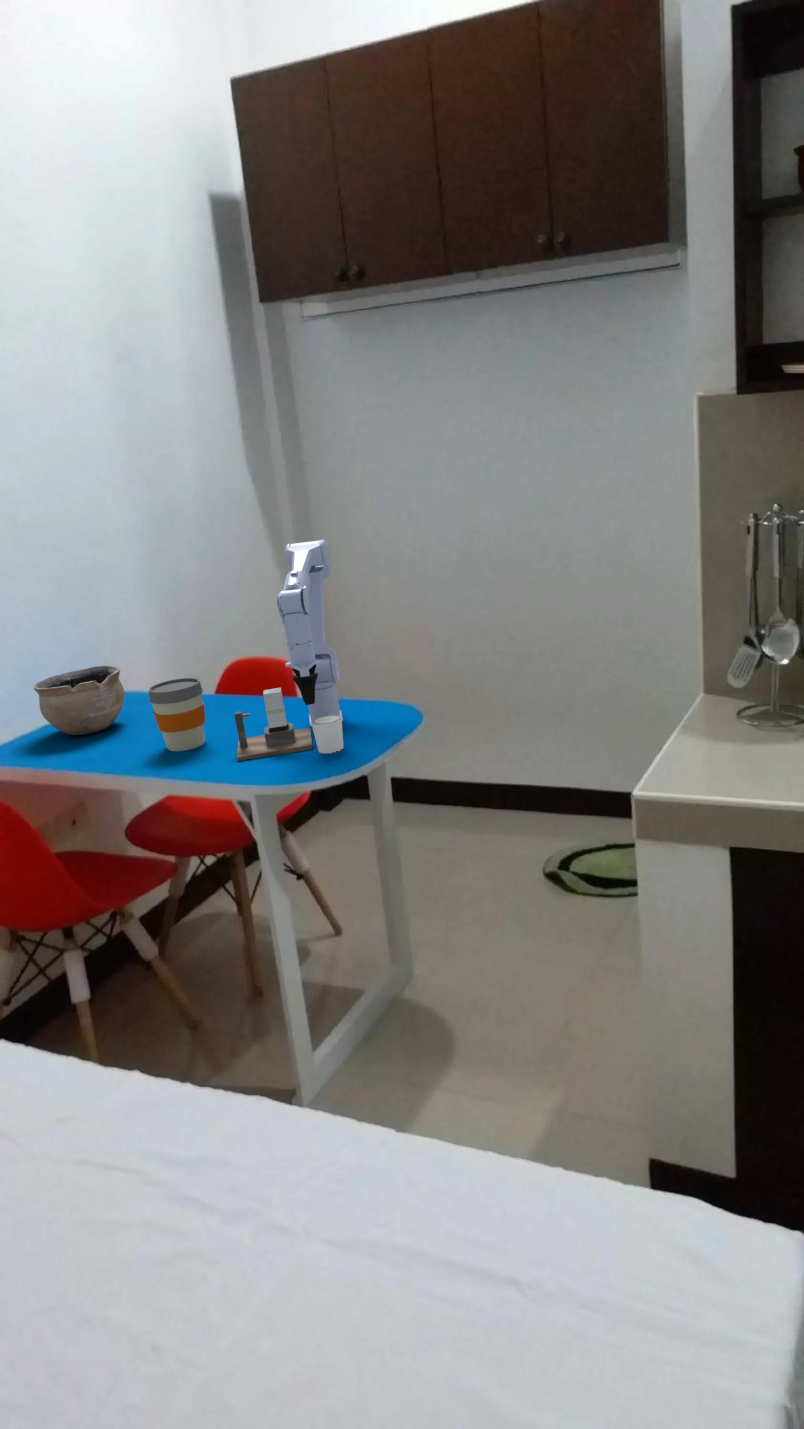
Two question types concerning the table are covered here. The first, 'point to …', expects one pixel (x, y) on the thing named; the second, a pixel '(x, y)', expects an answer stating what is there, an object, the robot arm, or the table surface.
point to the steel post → (275, 707)
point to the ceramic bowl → (82, 699)
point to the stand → (271, 740)
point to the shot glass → (328, 733)
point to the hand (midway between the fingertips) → (309, 699)
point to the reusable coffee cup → (179, 712)
